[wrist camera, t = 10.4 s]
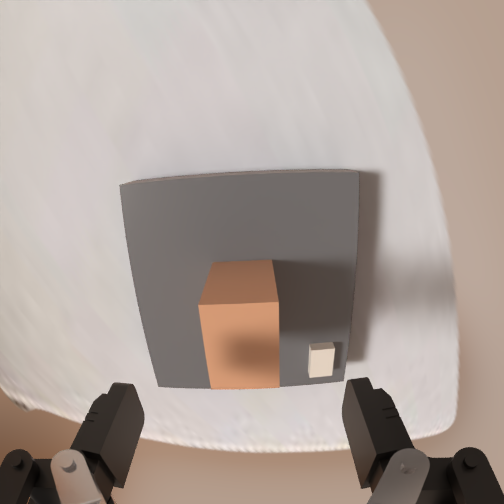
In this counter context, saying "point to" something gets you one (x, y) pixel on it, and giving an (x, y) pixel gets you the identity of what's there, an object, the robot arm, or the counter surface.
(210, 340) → the plug
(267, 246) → the socket board
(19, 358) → the counter surface
